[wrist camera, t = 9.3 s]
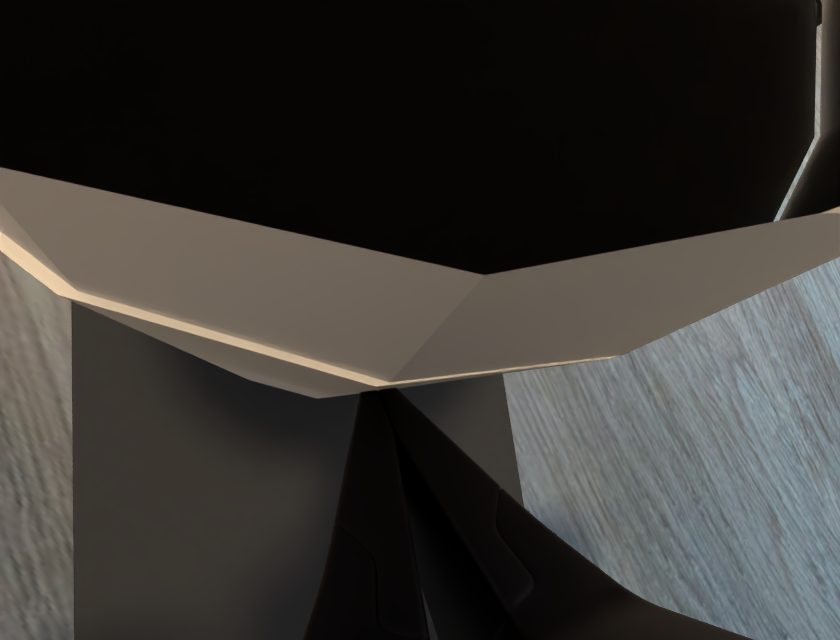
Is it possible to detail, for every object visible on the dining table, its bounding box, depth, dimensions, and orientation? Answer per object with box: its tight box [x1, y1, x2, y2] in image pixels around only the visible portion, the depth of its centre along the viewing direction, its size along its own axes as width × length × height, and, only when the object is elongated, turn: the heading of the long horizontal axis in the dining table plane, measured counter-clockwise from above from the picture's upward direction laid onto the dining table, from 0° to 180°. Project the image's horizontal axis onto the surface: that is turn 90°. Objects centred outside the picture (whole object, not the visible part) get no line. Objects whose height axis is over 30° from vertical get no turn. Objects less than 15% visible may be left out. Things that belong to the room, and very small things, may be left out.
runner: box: [72, 301, 524, 640], centre depth 16 cm, size 32×16×1 cm, turn 8°
